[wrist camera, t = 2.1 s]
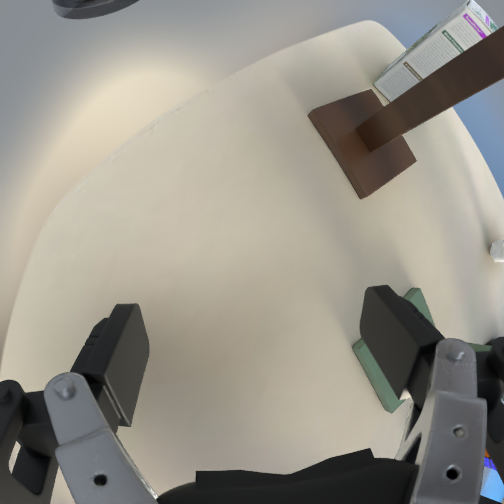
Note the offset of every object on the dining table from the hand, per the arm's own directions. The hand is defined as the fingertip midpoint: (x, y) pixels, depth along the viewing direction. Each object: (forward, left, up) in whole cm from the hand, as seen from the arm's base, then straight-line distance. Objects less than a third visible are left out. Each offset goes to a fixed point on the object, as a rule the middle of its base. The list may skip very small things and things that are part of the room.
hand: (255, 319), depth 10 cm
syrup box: (+10, +26, -9) cm, 29 cm away
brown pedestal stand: (+6, +15, -9) cm, 19 cm away
